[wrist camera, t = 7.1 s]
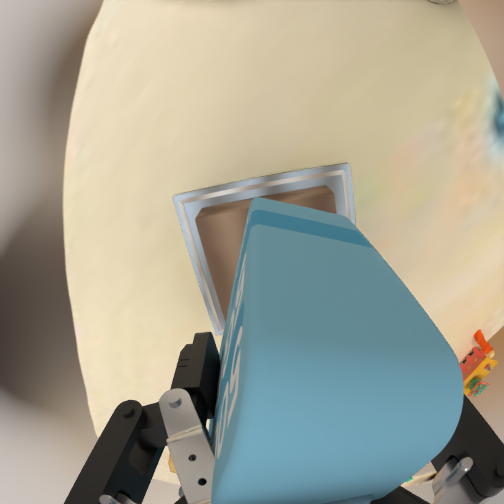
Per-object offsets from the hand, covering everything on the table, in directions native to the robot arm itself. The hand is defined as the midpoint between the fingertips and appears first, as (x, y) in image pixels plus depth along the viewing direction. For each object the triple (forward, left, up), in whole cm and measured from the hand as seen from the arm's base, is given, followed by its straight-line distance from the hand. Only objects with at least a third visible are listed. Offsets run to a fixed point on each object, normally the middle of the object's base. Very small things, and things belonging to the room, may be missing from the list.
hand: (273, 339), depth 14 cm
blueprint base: (0, +7, -22) cm, 23 cm away
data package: (0, 0, -3) cm, 3 cm away
